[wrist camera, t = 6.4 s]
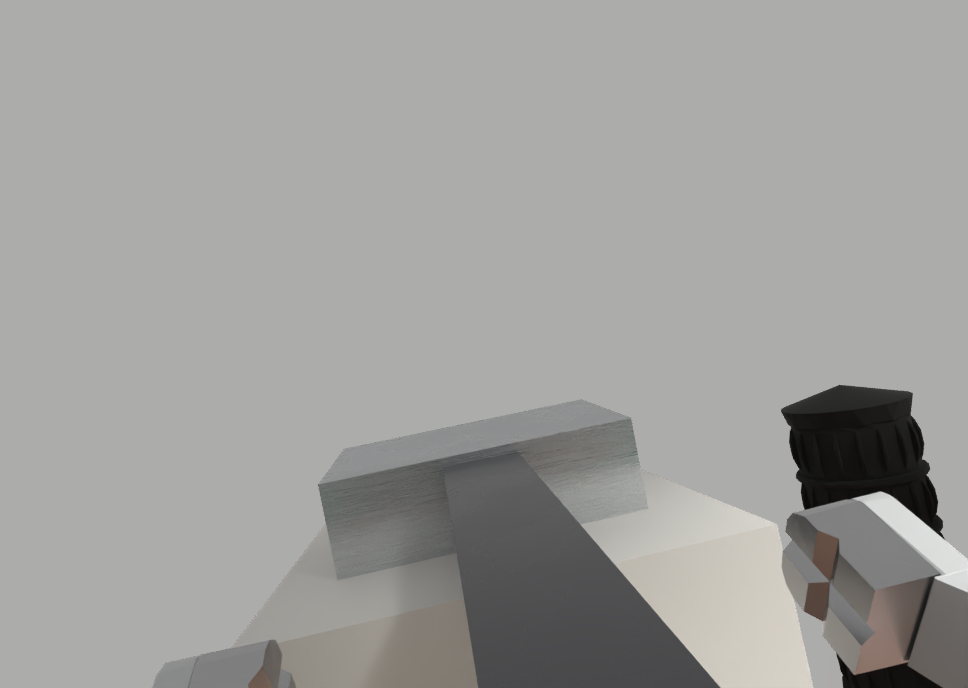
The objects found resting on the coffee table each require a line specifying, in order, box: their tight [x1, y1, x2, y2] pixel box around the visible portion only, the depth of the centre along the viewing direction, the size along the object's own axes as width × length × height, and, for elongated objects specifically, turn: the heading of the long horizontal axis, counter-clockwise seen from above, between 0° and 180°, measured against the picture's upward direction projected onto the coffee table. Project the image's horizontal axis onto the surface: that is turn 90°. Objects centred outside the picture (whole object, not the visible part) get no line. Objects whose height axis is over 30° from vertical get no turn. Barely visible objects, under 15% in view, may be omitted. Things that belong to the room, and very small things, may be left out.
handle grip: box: [781, 385, 946, 688], centre depth 35 cm, size 10×26×10 cm
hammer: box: [318, 400, 720, 688], centre depth 15 cm, size 10×20×3 cm, turn 5°
